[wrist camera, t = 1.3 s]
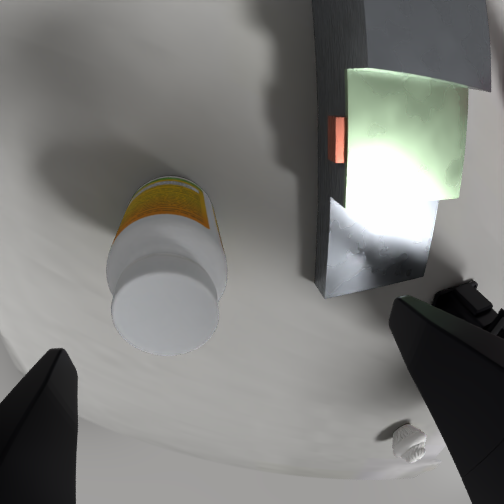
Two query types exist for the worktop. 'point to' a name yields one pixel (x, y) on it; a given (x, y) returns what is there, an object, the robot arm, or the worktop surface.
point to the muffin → (409, 443)
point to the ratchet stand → (390, 130)
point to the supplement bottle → (167, 268)
